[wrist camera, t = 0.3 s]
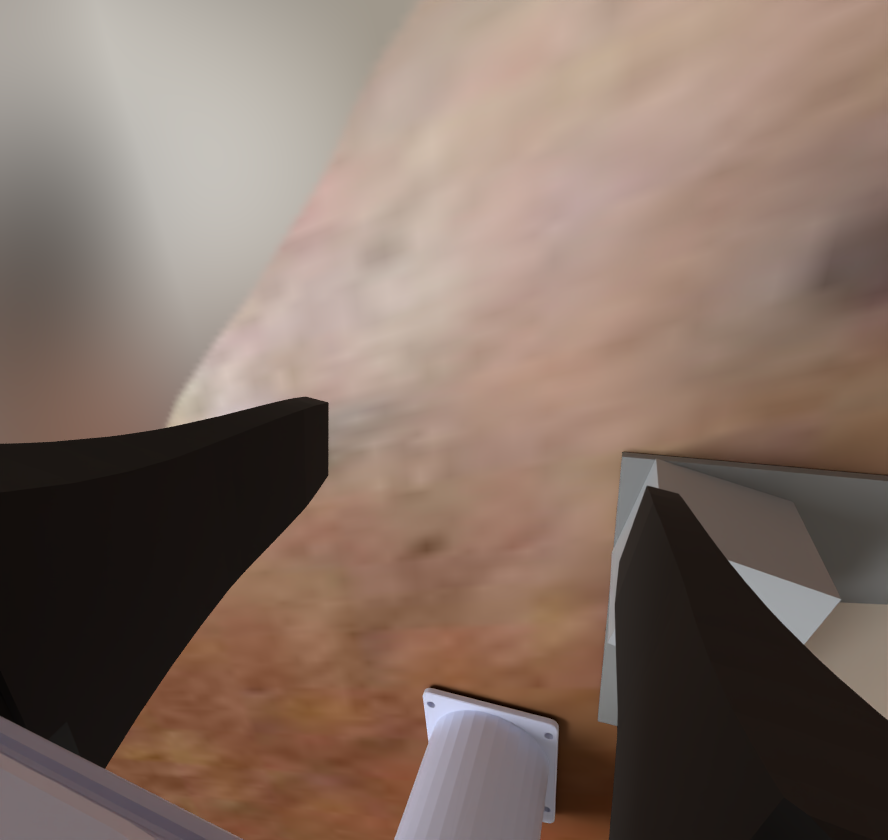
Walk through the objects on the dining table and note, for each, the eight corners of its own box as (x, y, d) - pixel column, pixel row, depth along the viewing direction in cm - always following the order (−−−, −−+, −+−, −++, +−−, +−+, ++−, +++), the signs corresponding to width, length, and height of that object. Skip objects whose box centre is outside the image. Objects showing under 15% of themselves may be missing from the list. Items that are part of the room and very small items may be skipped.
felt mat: (1039, 823, 21) (1046, 833, 21) (598, 714, 27) (597, 721, 27) (1274, 510, 15) (1290, 518, 14) (622, 451, 20) (622, 456, 20)
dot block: (731, 594, 21) (758, 707, 17) (611, 552, 22) (607, 647, 18) (793, 501, 19) (843, 604, 14) (656, 458, 20) (663, 542, 15)
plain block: (911, 701, 20) (985, 839, 16) (768, 687, 22) (800, 807, 18) (925, 606, 19) (1013, 734, 14) (768, 599, 21) (804, 709, 16)
